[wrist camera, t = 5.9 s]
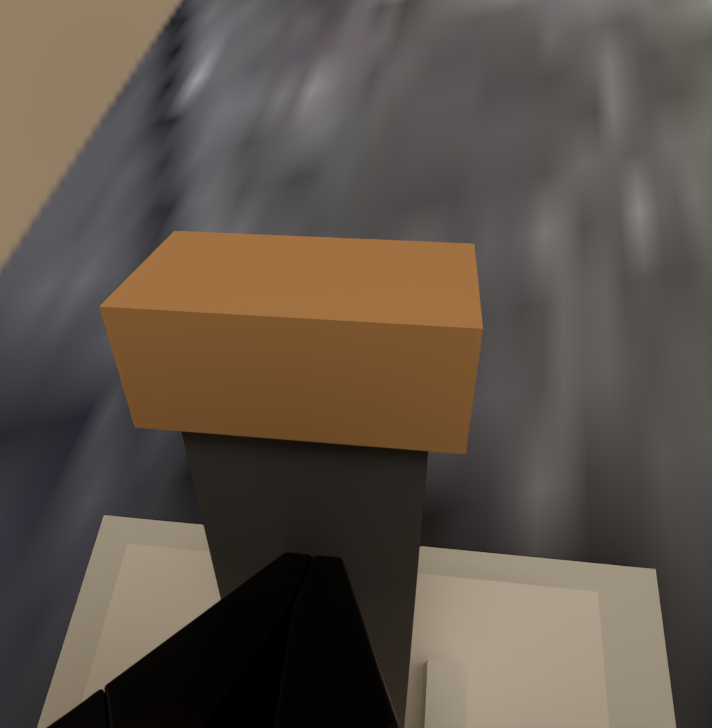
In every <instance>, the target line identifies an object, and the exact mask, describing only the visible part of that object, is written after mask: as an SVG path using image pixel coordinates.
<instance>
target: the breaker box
mask: <svg viewBox="0 0 712 728" xmlns="http://www.w3.org/2000/svg"><path fill="white" fill-rule="evenodd" d="M220 600H221V598H220V594H219V590H218V585H217V581H216V577H215V572H214V568H213V564H212V560H211V555H210V551H209V547H208V542H207V538H206V534H205V530H204V525H199V524H188V523H178V522H168V521H158V520H148V519H137V518H127V517H117V516H107V515H104V517H103V520H102V523H101V526H100V529H99V532H98V536H97V539H96V542H95V545H94V548H93V552H92V555H91V558H90V561H89V564H88V567H87V571H86V574H85V577H84V580H83V583H82V587H81V590H80V593H79V596H78V599H77V602H76V606H75V609H74V612H73V615H72V618H71V621H70V625H69V628H68V631H67V634H66V637H65V641H64V644H63V647H62V650H61V653H60V656H59V660H58V663H57V666H56V669H55V672H54V675H53V679H52V682H51V685H50V688H49V691H48V695H47V698H46V701H45V704H44V707H43V710H42V714H41V717H40V720H39V723H38V726H37V728H47V727H48V726H49V725H51V724H52V723H54V722H55V721H56V720H58V719H59V718H61V717H62V716H64V715H65V714H66V713H68V712H69V711H71V710H72V709H73V708H75V707H76V706H77V705H79V704H80V703H82V702H83V701H84V700H86V699H87V698H88V697H90V696H91V695H92V694H94V693H95V692H96V691H98V690H100V689H102V690H104V688H105V685H106V684H108V683H109V682H110V681H112V680H113V679H114V678H116V677H117V676H118V675H120V674H121V673H122V672H124V671H125V670H126V669H128V668H129V667H131V666H132V665H133V664H135V663H136V662H137V661H139V660H140V659H141V658H143V657H144V656H145V655H147V654H148V653H149V652H151V651H152V650H153V649H155V648H156V647H158V646H159V645H160V644H162V643H163V642H164V641H166V640H167V639H168V638H170V637H171V636H172V635H174V634H175V633H176V632H178V631H179V630H180V629H182V628H183V627H185V626H186V625H187V624H189V623H190V622H191V621H193V620H194V619H195V618H197V617H198V616H199V615H201V614H202V613H203V612H205V611H206V610H207V609H209V608H210V607H212V606H213V605H214V604H216V603H217V602H218V601H220ZM104 692H105V690H104ZM404 728H676V723H675V715H674V707H673V700H672V692H671V684H670V677H669V669H668V661H667V654H666V646H665V638H664V631H663V623H662V615H661V608H660V600H659V592H658V585H657V577H656V569H648V568H638V567H627V566H617V565H607V564H597V563H587V562H576V561H566V560H556V559H546V558H536V557H525V556H515V555H505V554H495V553H485V552H474V551H464V550H454V549H444V548H433V547H423V546H420V550H419V562H418V574H417V585H416V597H415V608H414V620H413V632H412V643H411V655H410V667H409V678H408V690H407V702H406V713H405V725H404Z"/></svg>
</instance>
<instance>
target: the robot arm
mask: <svg viewBox="0 0 712 728" xmlns="http://www.w3.org/2000/svg"><path fill="white" fill-rule="evenodd" d="M104 690H105V692H104ZM104 690H102V689H100V690H98V691H96V692H95V693H94V694H92V695H91V696H90V697H88V698H87V699H86V700H84V701H83V702H82V703H80V704H79V705H77V706H76V707H75V708H73V709H72V710H71V711H69V712H68V713H66V714H65V715H64V716H62V717H61V718H59V719H58V720H56V721H55V722H54V723H52V724H51V725H49V726H48V727H47V728H399V724H398V721H397V718H396V715H395V712H394V709H393V706H392V703H391V700H390V697H389V694H388V691H387V688H386V685H385V682H384V680H383V677H382V674H381V671H380V668H379V665H378V662H377V659H376V656H375V653H374V650H373V647H372V644H371V641H370V639H369V636H368V633H367V630H366V627H365V624H364V621H363V618H362V615H361V612H360V609H359V606H358V603H357V600H356V598H355V595H354V592H353V589H352V586H351V583H350V580H349V577H348V574H347V571H346V568H345V565H344V562H343V560H342V559H341V558H339V557H330V556H321V555H316V556H314V558H312V557H311V556H310V555H309V554H301V553H291V552H285V553H283V554H282V555H280V556H279V557H278V558H276V559H275V560H274V561H272V562H271V563H270V564H268V565H267V566H266V567H264V568H263V569H261V570H260V571H259V572H257V573H256V574H255V575H253V576H252V577H251V578H249V579H248V580H247V581H245V582H244V583H243V584H241V585H240V586H239V587H237V588H236V589H234V590H233V591H232V592H230V593H229V594H228V595H226V596H225V597H224V598H222V599H221V600H220V601H218V602H217V603H216V604H214V605H213V606H212V607H210V608H209V609H207V610H206V611H205V612H203V613H202V614H201V615H199V616H198V617H197V618H195V619H194V620H193V621H191V622H190V623H189V624H187V625H186V626H185V627H183V628H182V629H180V630H179V631H178V632H176V633H175V634H174V635H172V636H171V637H170V638H168V639H167V640H166V641H164V642H163V643H162V644H160V645H159V646H158V647H156V648H155V649H153V650H152V651H151V652H149V653H148V654H147V655H145V656H144V657H143V658H141V659H140V660H139V661H137V662H136V663H135V664H133V665H132V666H131V667H129V668H128V669H126V670H125V671H124V672H122V673H121V674H120V675H118V676H117V677H116V678H114V679H113V680H112V681H110V682H109V683H108V684H106V685H105V688H104Z"/></svg>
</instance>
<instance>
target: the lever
mask: <svg viewBox="0 0 712 728" xmlns="http://www.w3.org/2000/svg"><path fill="white" fill-rule="evenodd" d="M99 307H100V310H101V314H102V317H103V321H104V324H105V328H106V331H107V334H108V338H109V341H110V345H111V348H112V352H113V355H114V358H115V362H116V365H117V369H118V372H119V375H120V379H121V382H122V386H123V389H124V393H125V396H126V399H127V403H128V406H129V410H130V413H131V416H132V420H133V423H134V427H135V428H148V429H160V430H173V431H182V435H183V440H184V444H185V448H186V453H187V457H188V461H189V465H190V470H191V474H192V478H193V483H194V487H195V491H196V495H197V500H198V504H199V508H200V512H201V517H202V521H203V525H204V530H205V534H206V538H207V542H208V547H209V551H210V555H211V560H212V564H213V568H214V572H215V577H216V581H217V585H218V590H219V594H220V598H221V599H222V598H224V597H225V596H226V595H228V594H229V593H230V592H232V591H233V590H234V589H236V588H237V587H239V586H240V585H241V584H243V583H244V582H245V581H247V580H248V579H249V578H251V577H252V576H253V575H255V574H256V573H257V572H259V571H260V570H261V569H263V568H264V567H266V566H267V565H268V564H270V563H271V562H272V561H274V560H275V559H276V558H278V557H279V556H280V555H282V554H283V553H285V552H291V553H301V554H309V555H310V556H311V557H312V558H314V556H316V555H321V556H330V557H339V558H341V559H342V560H343V562H344V565H345V568H346V571H347V574H348V577H349V580H350V583H351V586H352V589H353V592H354V595H355V598H356V600H357V603H358V606H359V609H360V612H361V615H362V618H363V621H364V624H365V627H366V630H367V633H368V636H369V639H370V641H371V644H372V647H373V650H374V653H375V656H376V659H377V662H378V665H379V668H380V671H381V674H382V677H383V680H384V682H385V685H386V688H387V691H388V694H389V697H390V700H391V703H392V706H393V709H394V712H395V715H396V718H397V721H398V724H399V728H404V725H405V713H406V702H407V690H408V678H409V667H410V655H411V643H412V632H413V620H414V608H415V597H416V585H417V574H418V562H419V550H420V539H421V527H422V515H423V504H424V492H425V480H426V469H427V457H428V451H433V452H445V453H458V454H466V449H467V441H468V434H469V427H470V419H471V412H472V405H473V397H474V390H475V383H476V375H477V368H478V361H479V353H480V346H481V339H482V331H483V325H482V315H481V305H480V296H479V286H478V276H477V266H476V256H475V247H474V244H467V243H444V242H420V241H397V240H374V239H350V238H327V237H304V236H280V235H257V234H234V233H210V232H187V231H174V232H173V233H172V234H171V235H170V236H169V237H168V238H167V239H166V240H165V241H164V242H163V243H162V244H161V245H160V246H159V247H158V248H157V249H156V250H155V251H154V252H153V253H152V254H151V255H150V256H149V257H148V258H147V259H146V260H145V261H144V262H143V263H142V264H141V265H140V266H139V267H138V268H137V269H136V270H135V271H134V272H133V273H132V274H131V275H130V276H129V277H128V278H127V279H126V280H125V281H124V282H123V283H122V284H121V285H120V286H119V287H118V288H117V289H116V290H115V291H114V292H113V293H112V294H111V295H110V296H109V297H108V298H107V299H106V300H105V301H104V302H103V303H102V304H101V305H100V306H99Z"/></svg>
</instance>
